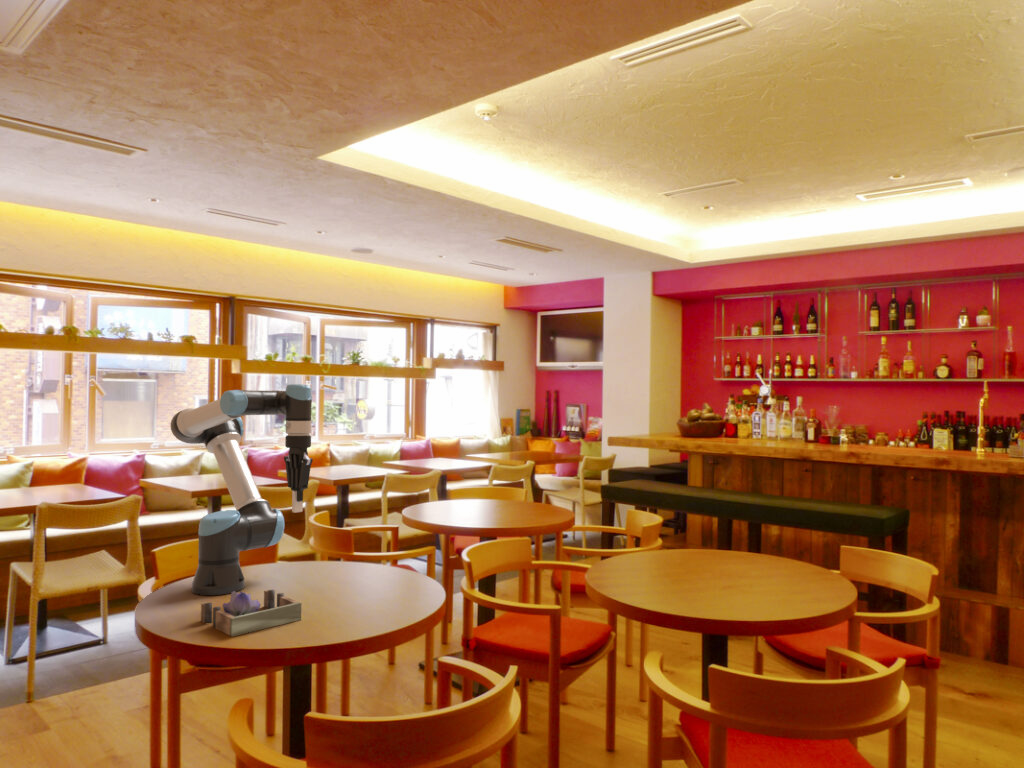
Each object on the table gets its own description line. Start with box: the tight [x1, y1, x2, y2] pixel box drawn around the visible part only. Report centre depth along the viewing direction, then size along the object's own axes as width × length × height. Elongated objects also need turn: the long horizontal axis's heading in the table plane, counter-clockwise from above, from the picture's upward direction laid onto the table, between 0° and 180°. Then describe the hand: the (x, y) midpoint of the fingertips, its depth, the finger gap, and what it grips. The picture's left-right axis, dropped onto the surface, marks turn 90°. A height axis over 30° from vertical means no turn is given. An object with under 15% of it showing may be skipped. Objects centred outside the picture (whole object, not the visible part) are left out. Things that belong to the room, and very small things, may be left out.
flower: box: [222, 590, 261, 617], centre depth 185 cm, size 9×9×10 cm
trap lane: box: [200, 589, 302, 638], centre depth 188 cm, size 18×20×5 cm
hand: (297, 511), depth 216 cm, fingers closed
